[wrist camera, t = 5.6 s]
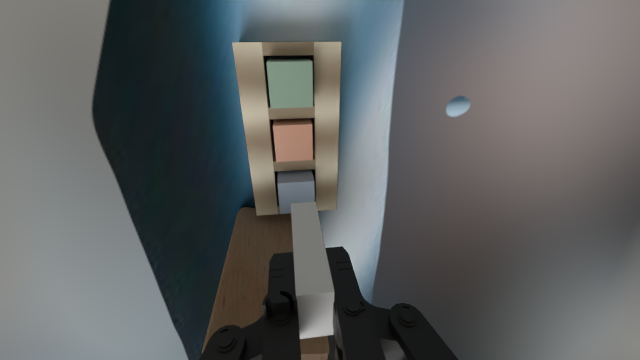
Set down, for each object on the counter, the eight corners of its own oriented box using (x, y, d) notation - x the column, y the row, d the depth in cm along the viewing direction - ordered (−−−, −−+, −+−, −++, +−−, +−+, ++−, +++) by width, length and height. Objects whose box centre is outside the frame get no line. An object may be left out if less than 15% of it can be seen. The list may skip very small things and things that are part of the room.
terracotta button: (309, 147, 33) (312, 159, 29) (276, 148, 32) (276, 161, 29) (308, 114, 31) (312, 124, 27) (273, 115, 30) (272, 125, 27)
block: (238, 203, 36) (198, 356, 19) (310, 211, 38) (334, 355, 21) (233, 258, 41) (196, 424, 23) (298, 262, 43) (309, 417, 25)
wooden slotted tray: (331, 193, 37) (336, 209, 34) (259, 198, 36) (256, 215, 33) (334, 41, 28) (341, 41, 25) (238, 42, 27) (232, 42, 24)
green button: (309, 98, 29) (313, 107, 25) (271, 100, 28) (270, 108, 25) (308, 58, 27) (312, 61, 23) (268, 59, 26) (266, 61, 23)
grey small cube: (311, 193, 34) (314, 211, 31) (280, 196, 34) (280, 214, 30) (310, 165, 33) (314, 181, 29) (277, 167, 32) (277, 183, 29)
